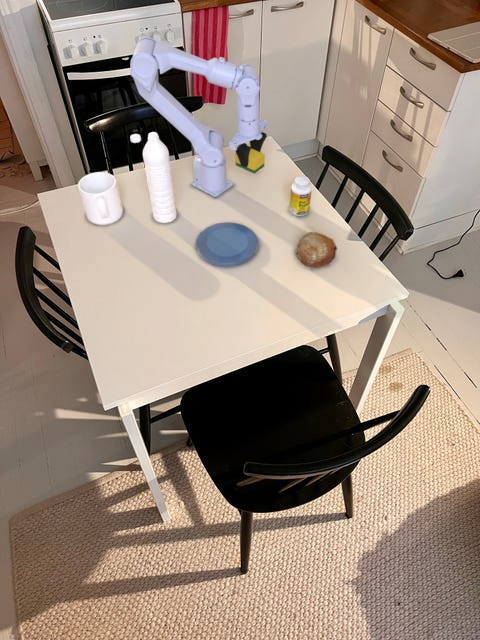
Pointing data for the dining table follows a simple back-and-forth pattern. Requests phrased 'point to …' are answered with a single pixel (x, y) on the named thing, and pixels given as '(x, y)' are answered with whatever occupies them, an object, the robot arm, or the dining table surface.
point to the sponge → (252, 161)
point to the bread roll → (316, 250)
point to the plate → (227, 244)
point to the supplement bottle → (300, 196)
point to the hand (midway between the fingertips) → (249, 161)
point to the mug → (100, 198)
